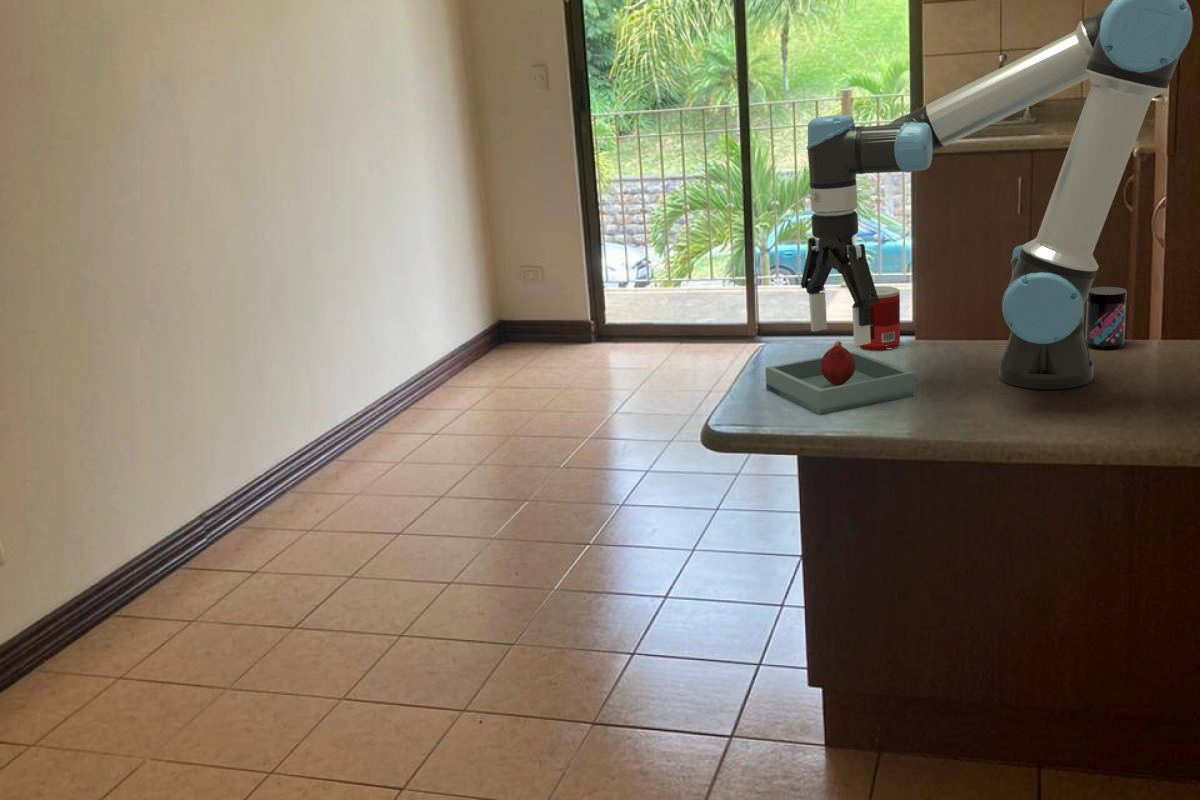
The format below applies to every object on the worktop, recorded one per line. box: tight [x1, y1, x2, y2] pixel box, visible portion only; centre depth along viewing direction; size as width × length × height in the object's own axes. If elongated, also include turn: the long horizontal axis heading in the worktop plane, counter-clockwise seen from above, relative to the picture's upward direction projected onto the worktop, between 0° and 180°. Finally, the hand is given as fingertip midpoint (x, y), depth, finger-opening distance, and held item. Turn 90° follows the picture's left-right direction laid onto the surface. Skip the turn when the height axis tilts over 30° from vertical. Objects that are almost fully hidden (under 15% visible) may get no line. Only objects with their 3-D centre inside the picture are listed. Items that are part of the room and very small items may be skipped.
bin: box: [765, 350, 914, 416], centre depth 208 cm, size 18×18×4 cm
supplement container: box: [1084, 286, 1128, 351], centre depth 222 cm, size 7×7×10 cm
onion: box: [821, 340, 855, 386], centre depth 207 cm, size 6×6×8 cm
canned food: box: [859, 285, 901, 352], centre depth 234 cm, size 8×8×11 cm
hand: (840, 337), depth 205 cm, fingers open, 13 cm apart
